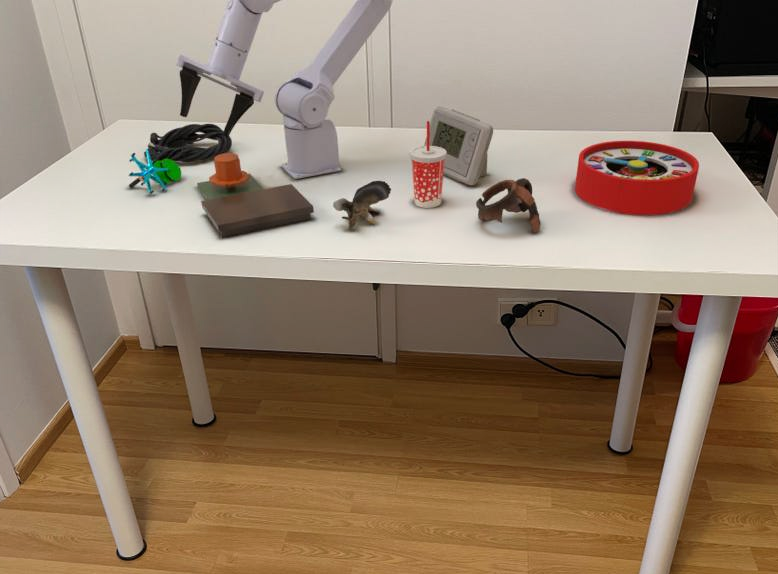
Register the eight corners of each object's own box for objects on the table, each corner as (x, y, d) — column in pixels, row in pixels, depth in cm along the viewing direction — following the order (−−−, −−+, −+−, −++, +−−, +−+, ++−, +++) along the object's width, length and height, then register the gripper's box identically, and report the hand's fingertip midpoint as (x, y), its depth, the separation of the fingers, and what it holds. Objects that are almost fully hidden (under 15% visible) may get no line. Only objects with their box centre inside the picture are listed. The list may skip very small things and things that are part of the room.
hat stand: (250, 178, 140) (246, 146, 136) (266, 196, 132) (262, 163, 129) (197, 188, 136) (191, 156, 133) (211, 207, 129) (205, 173, 125)
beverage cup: (427, 192, 132) (427, 113, 124) (452, 202, 129) (454, 121, 121) (402, 202, 129) (401, 121, 121) (428, 212, 125) (428, 129, 117)
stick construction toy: (147, 189, 130) (127, 148, 129) (123, 207, 133) (103, 167, 133) (193, 185, 140) (175, 147, 140) (170, 202, 144) (152, 165, 143)
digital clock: (417, 162, 145) (417, 107, 139) (458, 155, 148) (460, 101, 142) (454, 191, 133) (456, 132, 126) (498, 183, 135) (502, 125, 129)
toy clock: (684, 189, 116) (562, 168, 125) (677, 224, 120) (558, 201, 128) (710, 150, 131) (599, 134, 139) (703, 182, 134) (595, 164, 142)
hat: (242, 169, 136) (239, 148, 134) (253, 181, 131) (250, 159, 129) (206, 176, 134) (202, 154, 132) (215, 188, 129) (212, 166, 127)
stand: (292, 197, 132) (291, 183, 130) (314, 219, 124) (313, 205, 122) (203, 214, 126) (200, 200, 125) (220, 239, 118) (217, 225, 116)
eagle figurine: (380, 229, 117) (401, 199, 123) (353, 193, 114) (376, 164, 120) (348, 245, 122) (369, 214, 128) (321, 210, 119) (344, 181, 125)
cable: (237, 141, 157) (234, 121, 155) (226, 165, 146) (223, 143, 143) (156, 143, 157) (152, 123, 154) (138, 167, 145) (134, 145, 143)
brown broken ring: (536, 244, 116) (512, 202, 111) (485, 256, 122) (461, 216, 118) (557, 198, 122) (535, 157, 118) (508, 212, 129) (486, 173, 124)
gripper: (183, 24, 119) (157, 106, 122) (269, 63, 121) (240, 143, 124) (194, 30, 125) (168, 108, 129) (275, 67, 127) (247, 143, 131)
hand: (204, 125), depth 127 cm, fingers open, 7 cm apart
